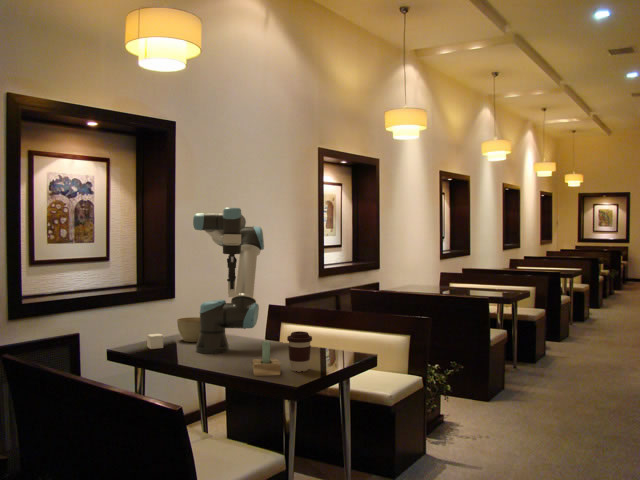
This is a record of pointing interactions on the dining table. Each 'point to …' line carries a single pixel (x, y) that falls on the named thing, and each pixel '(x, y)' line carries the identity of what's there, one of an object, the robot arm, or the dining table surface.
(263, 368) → the hole block
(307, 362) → the coffee cup
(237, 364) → the dining table surface
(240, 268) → the robot arm
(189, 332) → the planter bowl
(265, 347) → the peg
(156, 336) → the cream cube
